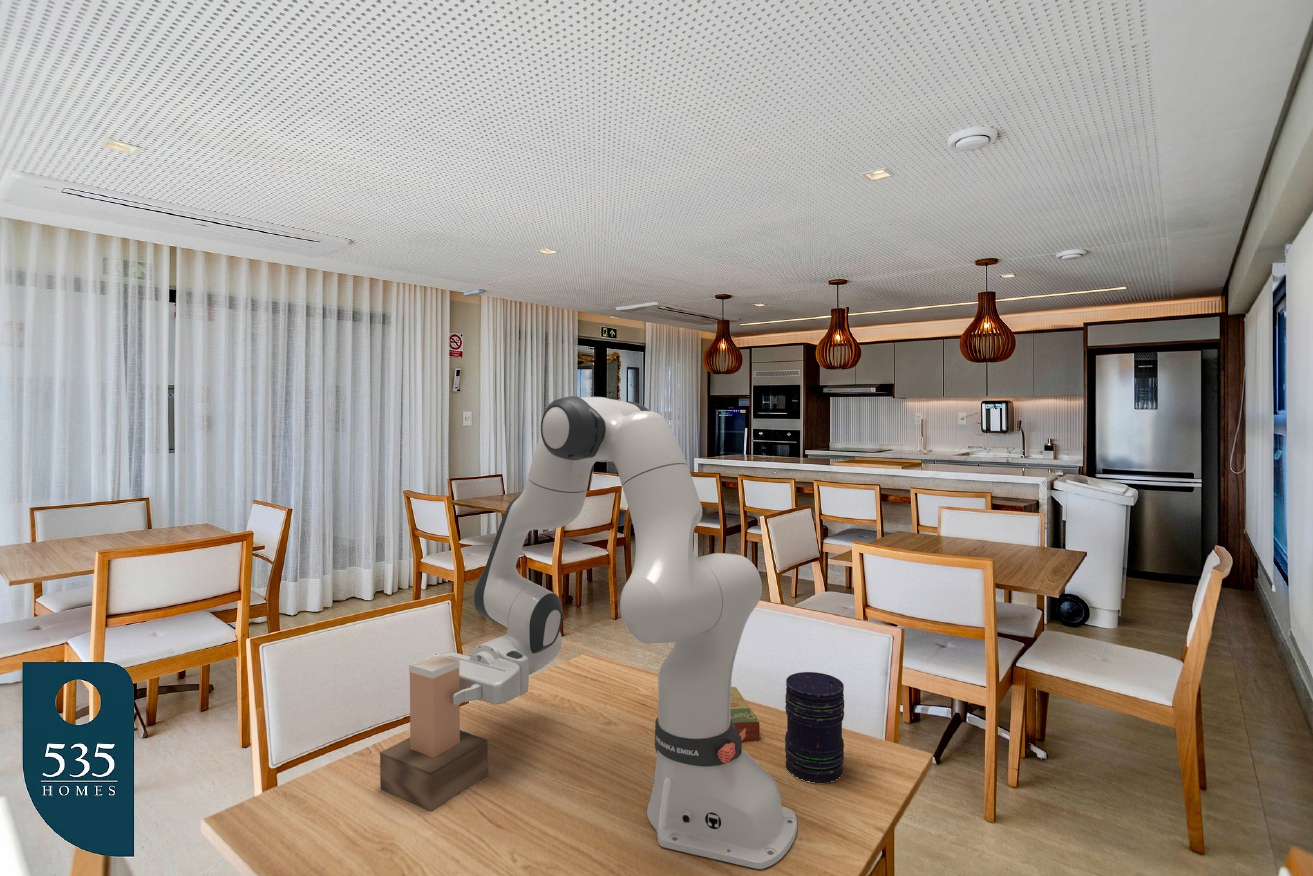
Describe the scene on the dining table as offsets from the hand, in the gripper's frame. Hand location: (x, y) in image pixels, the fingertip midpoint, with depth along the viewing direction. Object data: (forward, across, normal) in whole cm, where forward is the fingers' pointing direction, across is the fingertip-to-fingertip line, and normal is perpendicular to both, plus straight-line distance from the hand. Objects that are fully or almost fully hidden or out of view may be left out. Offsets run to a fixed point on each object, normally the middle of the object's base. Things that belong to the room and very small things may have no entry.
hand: (432, 693), depth 107 cm
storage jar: (-36, +53, +15) cm, 66 cm away
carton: (-45, +33, +16) cm, 58 cm away
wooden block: (0, 0, +15) cm, 15 cm away
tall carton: (0, 0, +9) cm, 9 cm away
